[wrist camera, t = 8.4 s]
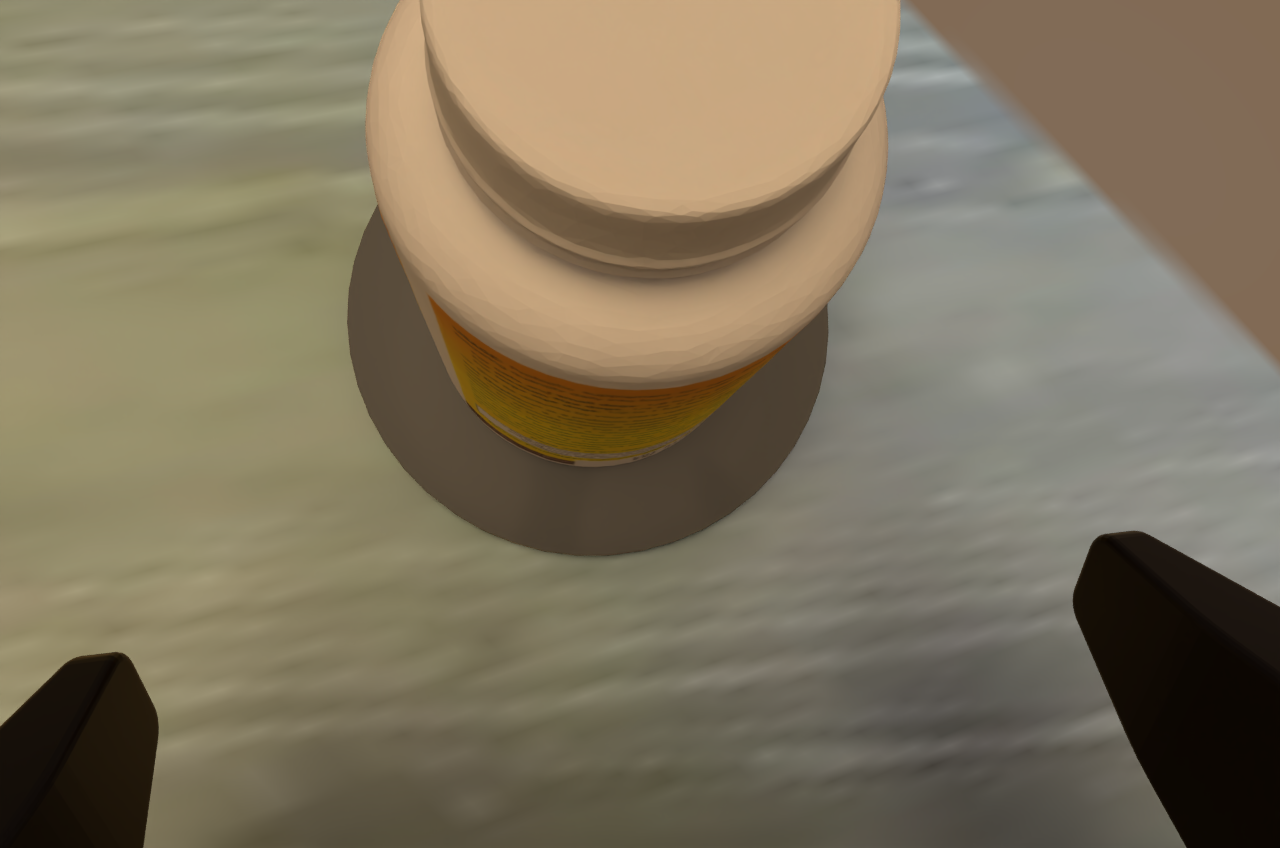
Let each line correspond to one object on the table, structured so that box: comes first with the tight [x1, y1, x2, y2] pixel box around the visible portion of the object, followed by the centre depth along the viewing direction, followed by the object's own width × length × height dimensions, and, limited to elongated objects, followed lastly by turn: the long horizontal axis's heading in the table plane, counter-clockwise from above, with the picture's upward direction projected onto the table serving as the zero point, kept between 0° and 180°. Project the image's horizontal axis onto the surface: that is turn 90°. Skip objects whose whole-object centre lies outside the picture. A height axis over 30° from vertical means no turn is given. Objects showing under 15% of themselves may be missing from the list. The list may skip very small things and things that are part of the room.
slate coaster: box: [347, 205, 828, 556], centre depth 18 cm, size 9×9×1 cm
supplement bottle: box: [365, 0, 900, 467], centre depth 12 cm, size 6×6×10 cm
